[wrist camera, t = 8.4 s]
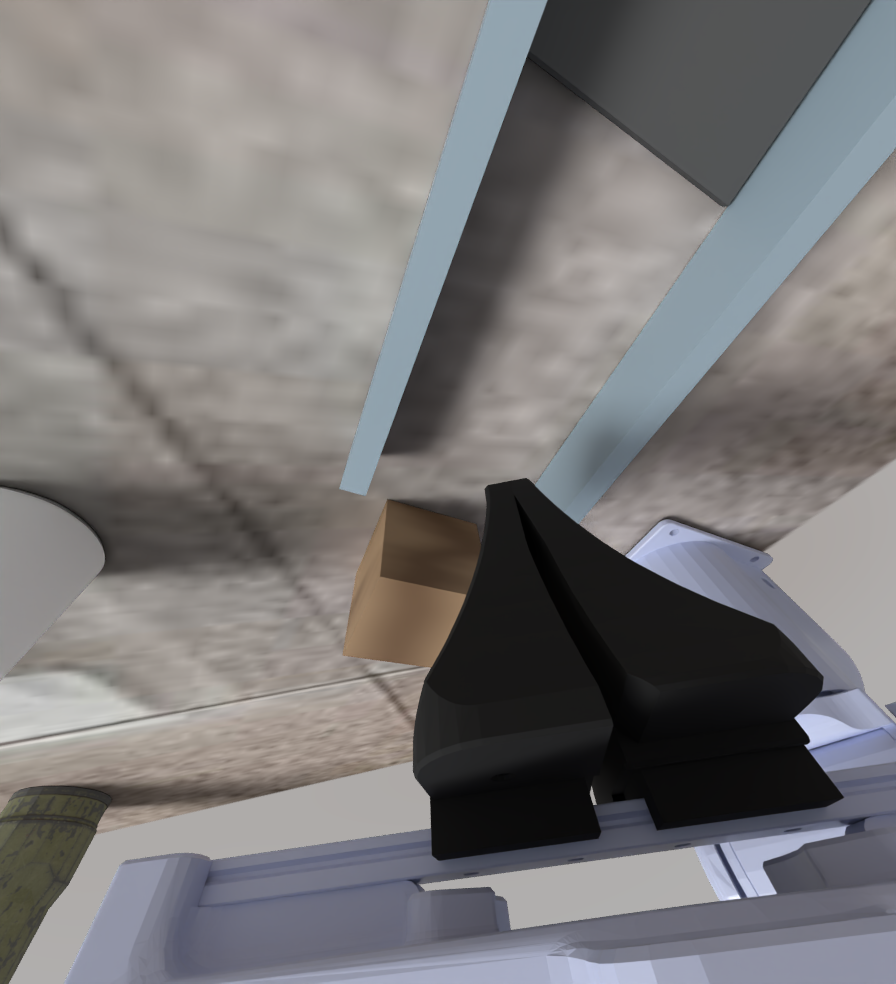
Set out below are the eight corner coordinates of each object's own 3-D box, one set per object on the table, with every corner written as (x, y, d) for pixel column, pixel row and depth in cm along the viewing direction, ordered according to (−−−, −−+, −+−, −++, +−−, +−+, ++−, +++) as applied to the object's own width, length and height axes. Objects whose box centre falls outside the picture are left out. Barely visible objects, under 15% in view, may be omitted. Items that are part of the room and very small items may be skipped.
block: (476, 522, 19) (493, 600, 15) (434, 589, 22) (439, 668, 18) (387, 497, 17) (380, 576, 13) (356, 573, 21) (342, 655, 17)
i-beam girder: (1004, -128, 8) (1260, -284, 6) (538, 507, 18) (557, 549, 16) (701, -693, 5) (970, -1550, 3) (350, 448, 15) (339, 488, 13)
